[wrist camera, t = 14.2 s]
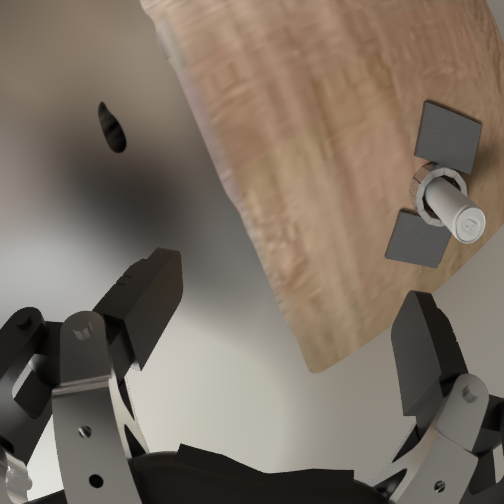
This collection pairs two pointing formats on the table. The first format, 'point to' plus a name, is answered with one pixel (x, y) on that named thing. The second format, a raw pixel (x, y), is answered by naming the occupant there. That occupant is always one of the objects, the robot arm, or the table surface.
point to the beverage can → (455, 210)
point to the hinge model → (445, 157)
